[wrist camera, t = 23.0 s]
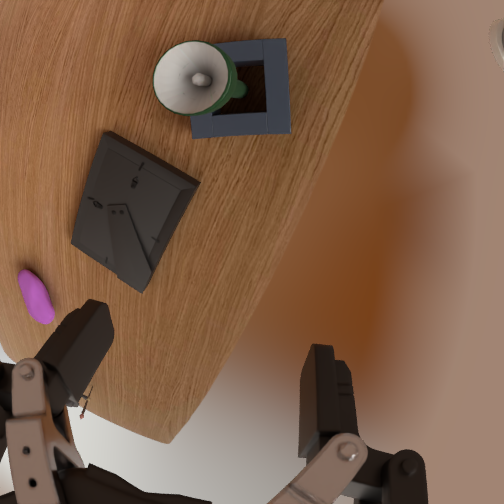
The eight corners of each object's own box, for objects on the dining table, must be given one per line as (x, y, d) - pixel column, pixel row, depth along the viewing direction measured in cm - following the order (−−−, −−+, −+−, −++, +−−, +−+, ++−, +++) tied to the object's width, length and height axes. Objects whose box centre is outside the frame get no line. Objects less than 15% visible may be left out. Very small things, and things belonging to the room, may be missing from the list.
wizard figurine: (76, 380, 72) (59, 409, 61) (72, 370, 69) (54, 400, 58) (99, 391, 72) (83, 421, 61) (96, 381, 69) (79, 413, 59)
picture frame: (148, 284, 48) (200, 182, 39) (142, 293, 46) (194, 188, 36) (77, 238, 46) (110, 130, 36) (68, 245, 43) (100, 133, 34)
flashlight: (250, 115, 34) (210, 129, 16) (213, 100, 33) (139, 102, 16) (268, 80, 31) (245, 54, 14) (230, 65, 31) (170, 30, 13)
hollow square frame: (286, 46, 29) (285, 38, 25) (290, 129, 34) (290, 133, 30) (197, 54, 30) (184, 48, 26) (203, 134, 36) (192, 139, 31)
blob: (24, 257, 50) (10, 268, 46) (58, 278, 51) (45, 291, 47) (29, 301, 57) (18, 313, 53) (61, 321, 58) (51, 335, 54)
